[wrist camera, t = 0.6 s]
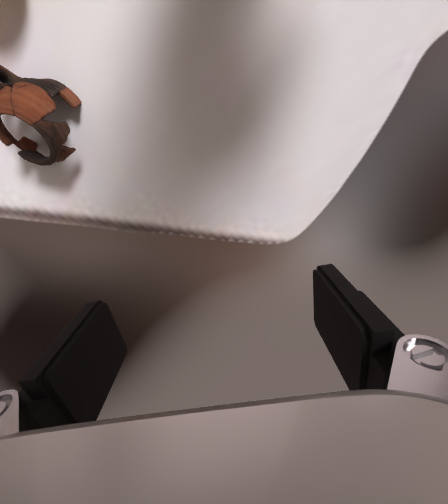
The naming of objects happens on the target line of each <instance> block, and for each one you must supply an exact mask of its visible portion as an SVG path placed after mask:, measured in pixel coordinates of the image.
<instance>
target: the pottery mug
mask: <svg viewBox="0 0 448 504" xmlns="http://www.w3.org/2000/svg"><path fill="white" fill-rule="evenodd" d="M55 95H60V96H61V97H62V98H63V99H64V100H65V101H66V102H67V103H68V104H69V105H70V106H71V107H72V108H76V107H77V106H78V105H80V104H81V101H80V99H79V98H78V97H77V96H76V95H75V94H74V93H73V92H72V91H71V90H70V89H69V88H67V87H66V86H65V85H63V84H62V83H60V82H58V81H56V80H52V79H35V78H21V77H18V76H16V75H15V74H13V73H12V72H10V71H9V70H8V69H6V68H4V67H3V66H1V65H0V116H1V115H2V114H9V115H13V116H16V117H18V118H20V119H22V120H23V121H25V122H27V123H28V124H29V125H31V126H33V127H34V128H35V129H36V130H37V131H38V132H39V133H40V134H41V135H42V137H43V138H44V139H45V141H46V143H47V144H48V146H49V149H50V156H49V157H45V156H44V155H42V154H41V153H39V152H38V151H36V150H37V143H35V142H34V141H32V140H30V139H28V138H26V137H22V138H21V140H19V141H17V140H16V139H15V138H14V137H13V136H12V135H11V134H10V133H9V131H8V130H7V129H6V127H5V126H4V124H3V122H2V120H1V117H0V140H1V141H2V142H3V143H4V144H5V145H6V146H9V145H11V144H15V145H16V146H17V147H18V148H20V149H21V150H22V151H19V152H18V154H19V155H20V156H21V157H22V158H23V159H25V160H27V161H29V162H32V163H34V164H38V165H52V164H53V163H55V162H60V161H64V160H65V159H66V158H67V157H68V156H69V155H70V154H72V153H73V152H74V151H75V150H76V149H75V148H69V147H66V146H63V145H62V144H64V143H65V142H66V140H67V136H68V134H69V133H70V129H69V126H68V124H67V123H66V122H63V123H60V124H58V123H54V122H49V121H46V120H43V118H44V117H45V116H46V115H47V114H49V113H51V112H53V111H54V110H55V108H56V104H55V103H54V101H53V100H52V99H53V98H54V97H55Z"/></svg>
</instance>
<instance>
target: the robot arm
mask: <svg viewBox="0 0 448 504" xmlns="http://www.w3.org/2000/svg"><path fill="white" fill-rule="evenodd" d="M313 295H314V321H315V325H316V328H317V330H318V331H319V333H320V335H321V337H322V339H323V341H324V343H325V345H326V347H327V348H328V350H329V352H330V354H331V356H332V358H333V360H334V362H335V364H336V365H337V367H338V369H339V371H340V373H341V375H342V376H343V379H344V380H345V382H346V384H347V386H348V388H349V391H337V392H327V393H317V394H308V395H298V396H289V397H281V398H273V399H265V400H256V401H248V402H240V403H231V404H223V405H215V406H207V407H200V408H191V409H183V410H176V411H167V412H160V413H152V414H144V415H136V416H129V417H121V418H114V419H106V420H99V421H96V420H97V417H98V415H99V413H100V411H101V409H102V406H103V404H104V402H105V400H106V398H107V395H108V393H109V391H110V389H111V387H112V385H113V382H114V380H115V378H116V376H117V373H118V371H119V369H120V367H121V365H122V363H123V360H124V358H125V356H126V353H127V347H126V345H125V342H124V340H123V338H122V336H121V333H120V331H119V329H118V327H117V325H116V323H115V320H114V318H113V316H112V314H111V312H110V310H109V307H108V305H107V304H106V303H103V302H102V301H100V300H99V301H93V302H88V303H86V304H85V305H84V306H83V307H82V308H81V309H80V311H79V312H78V313H77V314H76V315H75V316H74V318H73V319H72V320H71V321H70V322H69V323H68V325H67V326H66V327H65V328H64V329H63V330H62V332H61V333H60V334H59V335H58V336H57V337H56V338H55V340H54V341H53V342H52V343H51V344H50V346H49V347H48V348H47V349H46V350H45V351H44V352H43V354H42V355H41V356H40V357H39V358H38V359H37V361H36V362H35V363H34V364H33V365H32V366H31V368H30V369H29V370H28V371H27V372H26V373H25V374H24V376H23V377H22V378H21V379H20V380H19V382H18V383H19V384H20V385H21V387H22V390H21V391H20V392H19V393H18V392H17V391H15V390H7V391H4V392H0V504H448V345H447V344H445V343H444V342H442V341H440V340H437V339H435V338H432V337H428V336H424V335H407V336H405V335H404V334H403V333H402V332H401V331H400V330H399V329H398V328H397V327H396V326H395V325H394V324H393V323H392V322H391V321H390V320H389V319H388V318H387V316H386V315H385V314H383V312H382V311H380V309H379V308H378V307H377V306H376V305H375V304H374V303H373V302H372V301H371V300H370V299H369V298H368V297H367V296H366V295H365V294H364V293H363V292H361V291H357V289H355V287H354V286H353V285H351V283H350V282H349V281H348V280H347V279H346V278H345V277H344V276H343V275H342V274H341V273H340V272H339V271H338V270H337V269H336V267H335V266H334V265H332V264H327V265H321V266H318V267H317V270H314V271H313Z"/></svg>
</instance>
